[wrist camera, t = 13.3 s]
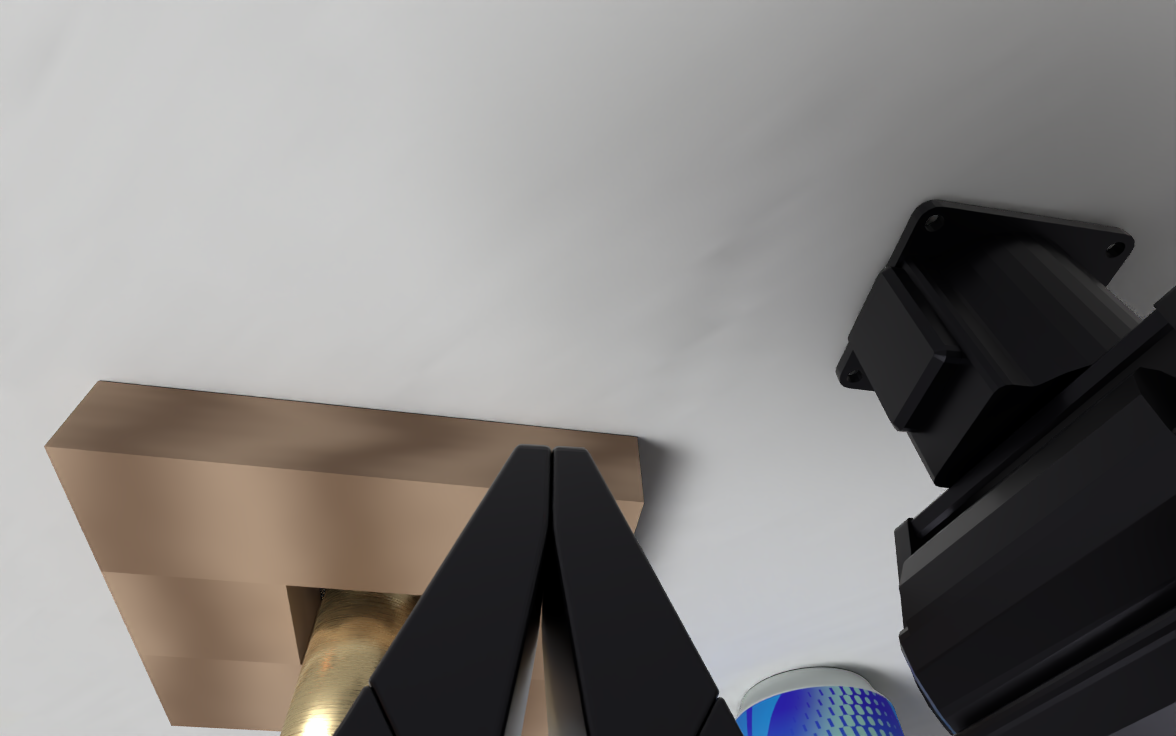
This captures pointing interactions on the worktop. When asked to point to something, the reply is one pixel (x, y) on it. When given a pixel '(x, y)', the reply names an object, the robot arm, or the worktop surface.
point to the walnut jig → (277, 526)
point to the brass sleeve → (343, 656)
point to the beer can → (817, 706)
